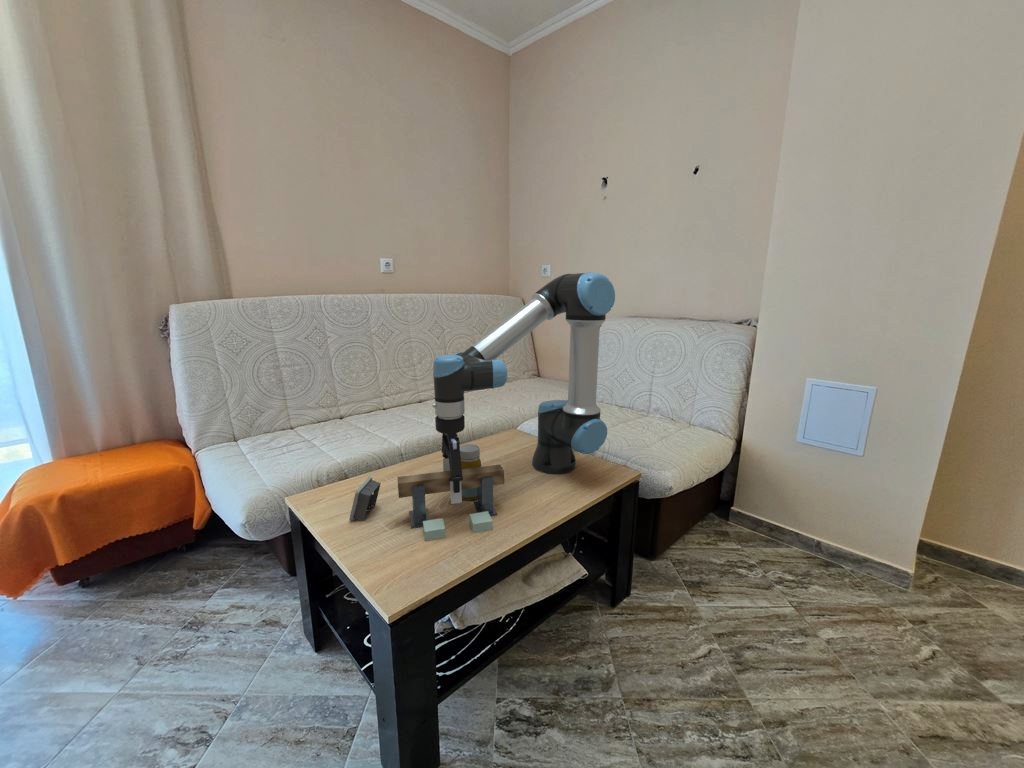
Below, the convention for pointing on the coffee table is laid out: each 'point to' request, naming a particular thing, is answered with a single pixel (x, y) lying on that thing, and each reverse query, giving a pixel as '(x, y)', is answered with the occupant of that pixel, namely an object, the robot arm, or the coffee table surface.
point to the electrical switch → (365, 499)
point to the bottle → (470, 466)
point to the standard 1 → (418, 507)
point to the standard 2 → (485, 497)
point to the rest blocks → (437, 528)
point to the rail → (441, 484)
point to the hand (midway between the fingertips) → (452, 490)
